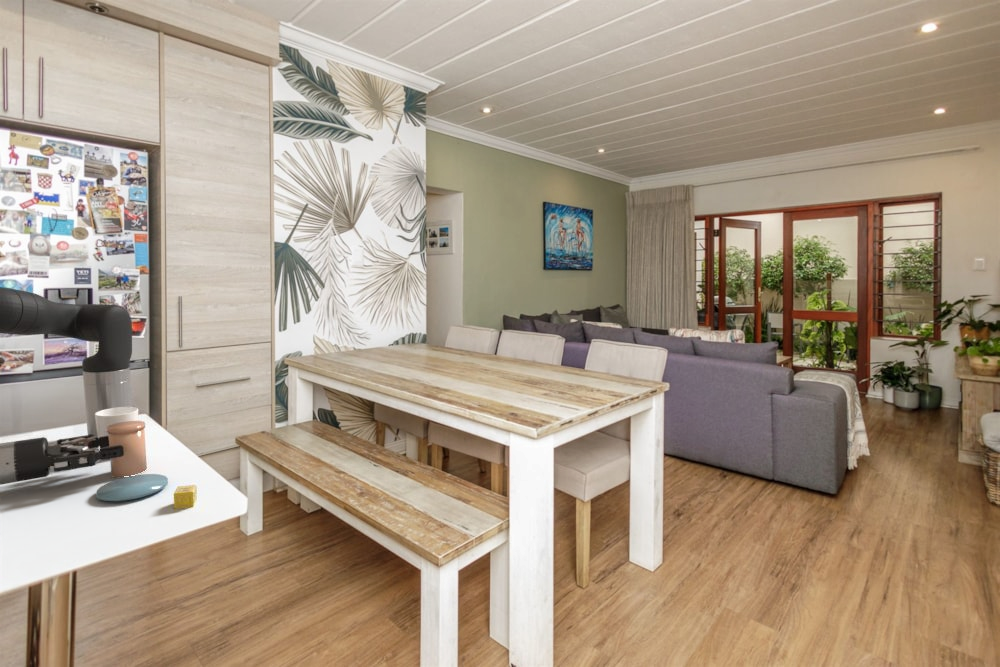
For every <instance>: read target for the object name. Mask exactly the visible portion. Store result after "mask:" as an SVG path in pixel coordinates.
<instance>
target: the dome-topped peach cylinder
mask: <svg viewBox="0 0 1000 667" xmlns="http://www.w3.org/2000/svg"><path fill="white" fill-rule="evenodd" d="M145 429H146V422H145V421H142V420H138V421H127V422H120V423H116V424H112V425H110V426H108V427H107V433H108V436H109V447H111V446H118V445H122V446H123V450H124V455H123V456H122V457H117V458H111V459H109V462H110V474H111V475H112V476H115V477H114V478H117V477H122V478H125V477H124V476H131V475H135V474H138V473H141V472H143V471H145V470H146V469H147V470H148V466H147V453H146V452H147V451H146V450H147V448H146V434H145V433H146V432H145ZM147 470H146V471H147ZM146 471H145V472H146ZM143 473H144V472H143ZM141 474H142V473H141ZM138 475H139V474H138ZM112 476H111V477H112Z"/></svg>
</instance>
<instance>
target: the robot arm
mask: <svg viewBox="0 0 1000 667" xmlns="http://www.w3.org/2000/svg"><path fill="white" fill-rule="evenodd" d="M0 334H6V335H18V336H19V335H21V336H38V335H56V336H60V337H68V338H71V339H76V340H79V341H85V342H91V343H92V342H93V343H96V342H97V343H98V346H97V347H98V348H97V352H96V353H94V354H93V355H91V356H88V357H86V358H83V360H82V362H81V364H82V367H81V368H82V380H83V389H84V390H83V393H84V402H85V415H86V428H87V434H86V435H80V436H74V437H67V438H59V439H57V440H56V444H55V445H54V444H53V445H51V446H50V445H49V442H48V439H47V437H35V438H29V439H22V440H15V441H9V442H0V486H2V485H7V484H13V483H18V482H24V481H29V480H34V479H36V480H37V479H41V478H46V477H49V475H50V472H51V467H53V470H54V472H55V473H57V472H58V473H59V472H64V471H71V470H77V469H82V468H88V467H93V466H96V465H97V464H98V463H99V462H100V461H104V460H108V459H109V460H110V459H111V458H117V457H122V456H123V455H124V450H123V446H122V445H118V446H111V447H109V436H103V437H99V438H98V434H97V428H96V420H95V413H96V412H98V411H101V410H105V409H110V408H117V407H133V398H132V396H133V395H132V381H131V367H130V361H131V358H132V355H133V324H132V318H131V315H130V313H129V311H128V310H127V309H126V307H124V306H123V305H119V304H99V303H97V304H96V303H95V304H94V303H90V304H89V303H87V304H81V303H80V304H78V303H77V304H74V303H64V302H63V303H62V302H55V301H52V300H49V299H48V298H46V297H44V296H42V295H40V294H37V293H33V292H31V291H26V290H21V289H15V288H10V287H9V288H8V287H4V286H0ZM104 447H105V448H104ZM96 463H97V464H96Z"/></svg>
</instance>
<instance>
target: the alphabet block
mask: <svg viewBox="0 0 1000 667" xmlns="http://www.w3.org/2000/svg"><path fill="white" fill-rule="evenodd" d="M197 488H198V487H197V484H190V485H181V486H180V485H179V486H177V487H176V490H175V491H174V494H173V508H174V509H175V510H178V509H177V508H179V509H185V507H188V508H193V507H194V506H195V504H196V502H197V499H198V498H197V497H198V494H197V491H198V490H197ZM183 507H184V508H183Z"/></svg>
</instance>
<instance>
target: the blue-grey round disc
mask: <svg viewBox="0 0 1000 667" xmlns="http://www.w3.org/2000/svg"><path fill="white" fill-rule="evenodd" d="M168 479H169V478H168V477H167V476H166V475H164V474H159V473H145V474H143V473H141V474H138V475H135V476H129V477H122V478H117V479H114V480H112V481H109V482H107V483H105V484H103V485H102V486H100V487H99V488H98V489H97V490H96V492H95V493H96V497H97V499H98V500H101V501H105V502H106V501H107V502H121V501H129V500H130V501H131V500H135V499H139V498H143V497H147V496H150V495H153V494H155V493H158V492H159V491H161V490H163V489H165V487H166V486H168V483H169V480H168Z"/></svg>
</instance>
